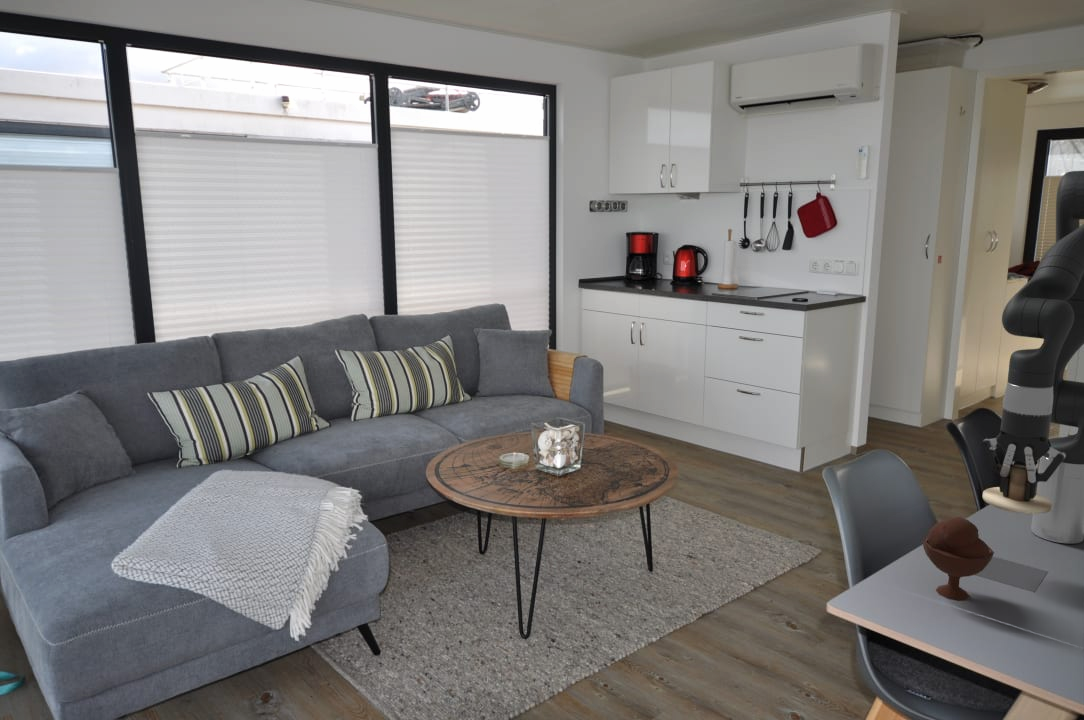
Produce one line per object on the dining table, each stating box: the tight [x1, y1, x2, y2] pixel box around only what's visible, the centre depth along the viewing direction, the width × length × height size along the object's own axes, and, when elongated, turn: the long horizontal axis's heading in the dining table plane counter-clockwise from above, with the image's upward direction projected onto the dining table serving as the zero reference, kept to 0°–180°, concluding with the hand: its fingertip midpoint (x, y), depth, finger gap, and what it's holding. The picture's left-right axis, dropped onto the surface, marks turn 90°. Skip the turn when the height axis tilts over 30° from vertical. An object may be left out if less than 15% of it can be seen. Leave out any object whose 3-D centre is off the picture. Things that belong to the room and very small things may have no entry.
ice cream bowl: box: [922, 516, 995, 602], centre depth 135 cm, size 11×11×15 cm
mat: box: [974, 555, 1049, 593], centre depth 145 cm, size 11×11×1 cm
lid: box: [982, 464, 1052, 515], centre depth 141 cm, size 11×11×7 cm
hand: (1016, 496), depth 142 cm, fingers closed on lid, 3 cm apart
